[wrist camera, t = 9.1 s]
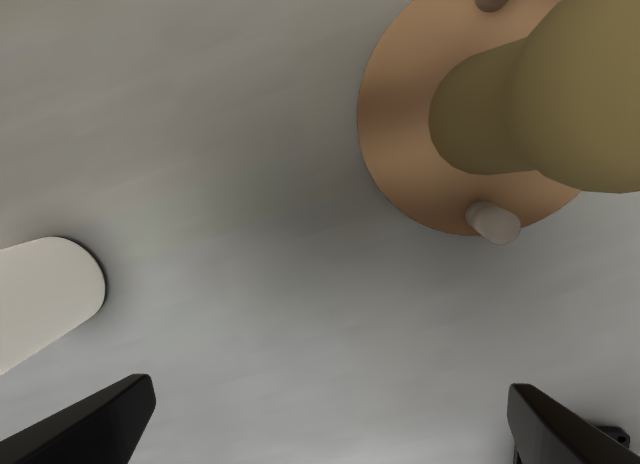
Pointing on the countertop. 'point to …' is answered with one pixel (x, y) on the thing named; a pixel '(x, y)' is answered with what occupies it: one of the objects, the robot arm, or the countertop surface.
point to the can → (44, 295)
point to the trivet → (413, 111)
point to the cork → (550, 101)
